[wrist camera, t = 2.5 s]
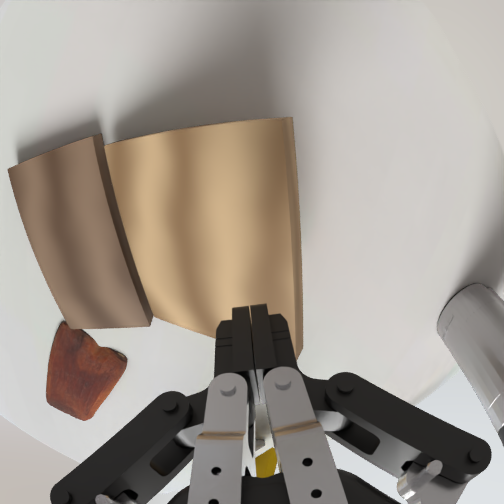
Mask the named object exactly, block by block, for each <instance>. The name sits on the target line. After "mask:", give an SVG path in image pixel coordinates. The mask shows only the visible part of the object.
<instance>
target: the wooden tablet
mask: <svg viewBox="0 0 504 504" xmlns="http://www.w3.org/2000/svg"><path fill="white" fill-rule="evenodd" d="M126 366H127V358H126V357H125V356H124V355H122V354H121V353H119V352H117V351H114V350H112V349H110V348H108V347H100V346H98V344H97V343H96V342H95V340H94V339H93V338H92V337H91V336H89V335H88V334H87V333H86V332H84V331H83V330H81V329H70V327H69V326H68V324H67V322H63V323H61V324H60V326H59V328H58V331H57V333H56V335H55V338H54V342H53V345H52V349H51V354H50V359H49V364H48V374H47V386H46V392H47V393H46V399H47V402H48V403H49V404H50V405H51V406H53V407H55V408H57V409H58V410H61V411H62V412H64V413H67V414H70V415H71V416H73V417H75V418H77V419H80V420H83V421H86V420H88V419H90V418H92V417H93V416H94V414H95V412H96V411H97V409H98V408H99V407H100V405H101V404H102V403H103V402H104V400H105V399H106V398H107V396H108V395H109V394H110V392H111V391H112V389H113V388H114V386H115V385H116V383H117V382H118V380H119V379H120V378H121V376H122V374H123V373H124V371H125V369H126Z"/></svg>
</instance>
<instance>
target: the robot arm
mask: <svg viewBox="0 0 504 504" xmlns="http://www.w3.org/2000/svg"><path fill="white" fill-rule="evenodd" d="M250 311H251V317H250ZM251 322H252V323H251ZM437 331H438V334H439V336H440V337H441V339H442V340H443V342H444V343H445V345H446V346H447V348H448V349H449V351H450V352H451V354H452V356H453V357H454V359H455V360H456V362H457V363H458V365H459V366H460V368H461V370H462V371H463V373H464V374H465V376H466V378H467V379H468V381H469V382H470V384H471V386H472V388H473V389H474V391H475V393H476V395H477V396H478V398H479V400H480V402H481V403H482V405H483V407H484V409H485V411H486V412H487V414H488V416H489V418H490V420H491V422H492V423H493V425H494V427H495V429H496V431H497V433H498V435H499V437H500V439H501V441H502V443H503V446H504V301H503V300H502V299H501V298H500V297H499V296H498V294H497V293H496V292H495V291H494V290H493V289H492V288H486V287H485V286H484V285H482V284H473V285H470V286H468V287H466V288H464V289H463V290H461V291H460V292H459V293H458V294H456V295H455V296H454V297H453V298H452V300H451V301H450V302H449V303H448V304H447V306H446V307H445V308H444V310H443V312H442V314H441V316H440V318H439V321H438V325H437ZM215 347H216V348H215V368H214V379H213V380H212V381H211V383H210V385H209V387H208V388H206V389H205V390H203V391H201V392H199V393H196V394H193V395H190V396H187V397H186V396H185V395H183V394H182V393H180V392H176V391H169V392H165V393H163V394H161V395H159V396H158V397H157V398H156V399H155V400H154V401H152V402H151V403H150V404H149V405H148V406H147V407H146V408H145V409H144V410H142V411H141V412H140V413H139V414H138V415H137V416H136V417H135V418H133V419H132V420H131V421H130V422H129V423H128V424H127V425H126V426H124V427H123V428H122V429H121V430H120V431H119V432H118V433H116V434H115V435H114V436H113V437H112V438H111V439H109V440H108V441H107V442H106V443H105V444H104V445H103V446H101V447H100V448H99V449H98V450H97V451H95V452H94V453H93V454H92V455H91V456H90V457H88V458H87V459H86V460H85V461H84V462H82V463H81V464H80V465H79V466H77V467H76V468H75V469H74V470H73V471H71V472H70V473H69V474H68V475H66V476H65V477H64V478H63V479H62V480H60V481H59V482H58V483H57V484H55V485H54V487H53V488H52V490H51V493H50V500H51V503H52V504H146V503H148V502H149V501H150V500H151V499H152V498H153V497H154V496H155V495H156V494H157V493H158V492H159V491H161V490H162V489H163V488H164V487H165V486H166V485H167V484H168V483H169V482H170V481H171V480H172V479H173V478H174V477H175V476H176V475H177V474H178V473H179V472H180V471H181V470H182V469H183V468H184V467H185V466H186V465H187V464H188V463H189V462H190V461H191V460H192V459H193V464H192V472H191V480H190V485H189V486H187V487H185V488H184V489H182V490H181V491H180V492H178V493H177V494H176V495H175V496H174V497H173V498H172V499H171V500H170V501H169V502H168V503H167V504H401V503H399V502H397V501H396V500H394V499H392V498H390V497H389V496H387V495H386V494H384V493H382V492H381V491H379V490H378V489H376V488H375V487H373V486H372V485H370V484H369V483H367V482H365V481H364V480H362V479H361V478H359V477H358V476H356V475H354V474H352V473H350V472H347V471H344V470H340V469H337V468H336V466H335V462H334V459H333V456H332V453H331V451H330V448H329V444H328V441H327V438H326V435H328V436H329V437H331V438H332V439H334V440H335V441H337V442H338V443H340V444H341V445H343V446H345V447H346V448H348V449H349V450H351V451H352V452H354V453H356V454H357V455H359V456H360V457H362V458H364V459H365V460H367V461H369V462H370V463H372V464H374V465H375V466H377V467H379V468H380V469H382V470H384V471H386V472H387V473H389V474H391V475H393V476H395V477H396V478H398V482H397V491H398V493H399V495H400V496H401V497H402V498H404V499H405V500H406V501H407V502H408V504H456V503H457V501H458V499H459V497H460V496H461V494H462V492H463V490H464V489H465V487H466V485H467V483H468V482H469V481H470V480H471V479H473V478H474V477H476V476H477V475H478V474H480V473H481V472H482V471H484V470H485V469H486V468H487V466H488V465H489V463H490V461H491V449H490V446H489V445H488V443H487V442H486V441H484V440H482V439H481V438H478V437H476V436H474V435H472V434H470V433H467V432H465V431H463V430H461V429H459V428H457V427H455V426H453V425H451V424H449V423H447V422H444V421H443V420H441V419H439V418H437V417H435V416H433V415H431V414H429V413H427V412H425V411H423V410H421V409H419V408H417V407H415V406H413V405H411V404H409V403H407V402H405V401H403V400H402V399H400V398H398V397H396V396H394V395H392V394H390V393H388V392H387V391H385V390H383V389H381V388H379V387H377V386H376V385H374V384H372V383H370V382H368V381H367V380H365V379H363V378H361V377H359V376H358V375H356V374H353V373H349V372H342V373H338V374H335V375H333V376H332V377H331V378H330V379H329V380H321V379H313V378H310V377H307V376H306V375H304V374H303V373H302V372H301V371H300V370H299V368H298V366H297V362H296V357H295V353H294V348H293V344H292V340H291V335H290V332H289V327H288V322H287V320H286V319H285V318H284V317H283V316H282V315H281V313H279V314H272V315H269V314H268V308H267V303H265V304H257V305H250V310H249V306H241V307H233V308H232V320H223V321H221V322H220V324H219V325H218V327H217V329H216V343H215ZM258 384H259V387H258ZM259 390H260V396H261V402H262V404H266V406H267V413H268V419H269V424H270V429H271V434H272V438H273V443H274V447H275V452H276V457H277V461H278V466H279V472H280V473H278V474H275V475H272V476H269V477H266V478H260V477H256V466H255V418H256V414H255V405H259V404H260V397H259ZM325 434H326V435H325Z"/></svg>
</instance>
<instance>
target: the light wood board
mask: <svg viewBox="0 0 504 504" xmlns="http://www.w3.org/2000/svg"><path fill="white" fill-rule="evenodd" d="M104 148H105V153H106V158H107V162H108V167H109V171H110V176H111V180H112V184H113V188H114V192H115V196H116V200H117V204H118V208H119V211H120V215H121V219H122V222H123V226H124V229H125V232H126V236H127V239H128V242H129V246H130V249H131V252H132V255H133V258H134V261H135V265H136V268H137V271H138V273H139V276H140V279H141V282H142V285H143V288H144V291H145V293H146V296H147V299H148V302H149V304H150V307H151V310H152V312H153V315H154V317H156V318H159V319H161V320H164V321H167V322H169V323H172V324H175V325H178V326H180V327H183V328H186V329H189V330H192V331H195V332H197V333H200V334H203V335H206V336H209V337H212V338H215V339H216V329H217V327H218V325H219V324H220V322H221V321H223V320H232V308H233V307H241V306H249V310H250V305H257V304H265V303H267V308H268V314H269V315H272V314H279V313H281V315H282V316H283V317H284V318H285V319H286V320H287V322H288V327H289V332H290V335H291V340H292V344H293V348H294V353H295V357H296V361H297V359H298V357H299V355H300V353H301V351H302V349H303V289H302V255H301V231H300V211H299V194H298V179H297V165H296V152H295V140H294V129H293V118H292V117H284V118H268V119H254V120H243V121H233V122H224V123H216V124H208V125H201V126H194V127H188V128H182V129H176V130H170V131H164V132H159V133H154V134H149V135H144V136H139V137H135V138H130V139H126V140H121V141H118V142H114V143H111V144H108V145H105V146H104ZM250 317H251V311H250ZM251 323H252V322H251Z"/></svg>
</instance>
